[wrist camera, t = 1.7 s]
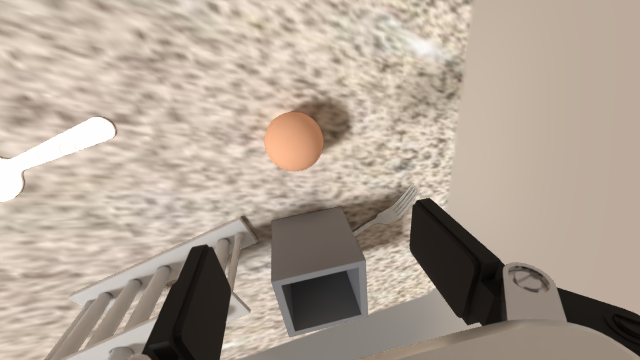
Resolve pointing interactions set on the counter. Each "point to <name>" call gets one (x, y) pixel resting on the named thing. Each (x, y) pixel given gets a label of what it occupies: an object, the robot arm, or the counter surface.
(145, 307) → the test tube rack
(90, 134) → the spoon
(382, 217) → the fork
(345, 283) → the grey open square box
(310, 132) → the ball
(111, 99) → the counter surface
